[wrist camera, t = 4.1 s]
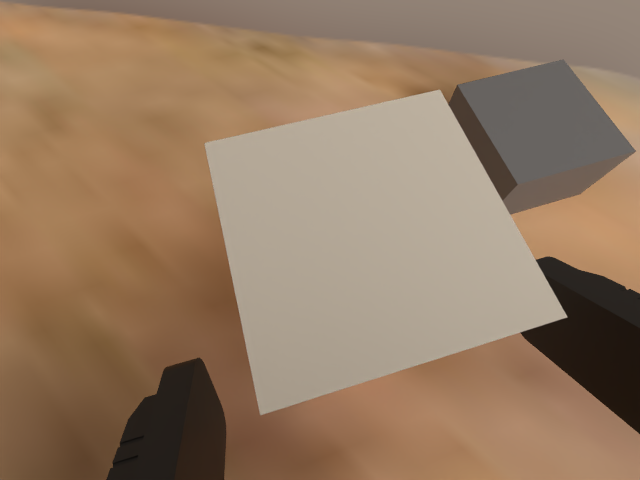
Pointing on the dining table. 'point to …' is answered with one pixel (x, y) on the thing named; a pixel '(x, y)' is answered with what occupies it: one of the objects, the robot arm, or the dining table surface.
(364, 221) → the tall cream block
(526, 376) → the dining table surface
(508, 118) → the grey squat block
